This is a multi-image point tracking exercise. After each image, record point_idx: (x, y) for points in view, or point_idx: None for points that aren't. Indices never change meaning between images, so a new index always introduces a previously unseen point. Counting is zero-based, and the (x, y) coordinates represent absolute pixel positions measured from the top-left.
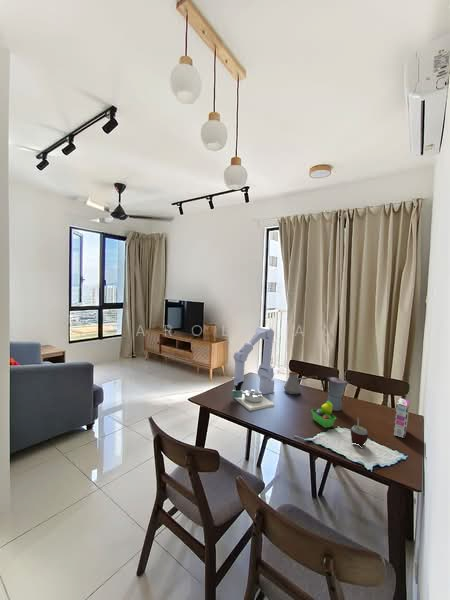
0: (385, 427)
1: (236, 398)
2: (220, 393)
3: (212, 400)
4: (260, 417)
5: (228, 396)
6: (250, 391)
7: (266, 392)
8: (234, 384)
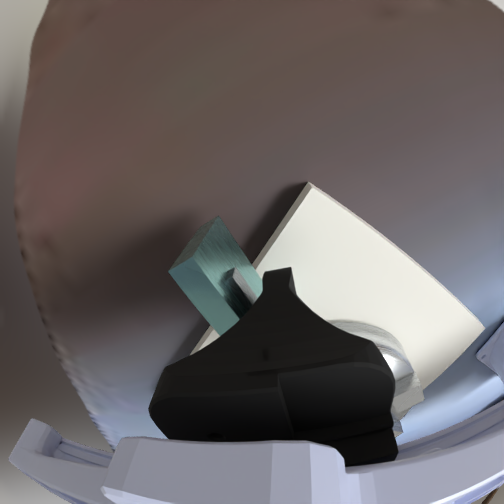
0: None
1: (267, 248)
2: (311, 4)
3: (93, 59)
4: (154, 426)
5: (299, 115)
6: (401, 373)
7: (491, 363)
8: (33, 432)
